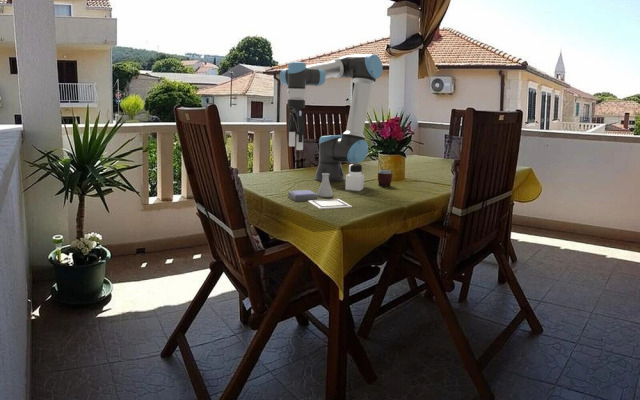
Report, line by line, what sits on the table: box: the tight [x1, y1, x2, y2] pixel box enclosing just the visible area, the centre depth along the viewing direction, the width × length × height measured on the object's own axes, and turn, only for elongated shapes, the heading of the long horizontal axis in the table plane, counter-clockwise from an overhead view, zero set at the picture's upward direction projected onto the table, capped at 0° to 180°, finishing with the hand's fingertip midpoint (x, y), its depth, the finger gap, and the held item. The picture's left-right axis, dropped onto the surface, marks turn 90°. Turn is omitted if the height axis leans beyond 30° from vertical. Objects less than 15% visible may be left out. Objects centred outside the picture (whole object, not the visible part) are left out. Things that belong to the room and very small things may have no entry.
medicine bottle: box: [344, 163, 365, 192], centre depth 232 cm, size 7×7×12 cm
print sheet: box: [307, 198, 353, 210], centre depth 200 cm, size 14×14×1 cm
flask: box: [316, 173, 334, 198], centre depth 215 cm, size 7×7×10 cm
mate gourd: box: [376, 156, 393, 188], centre depth 242 cm, size 8×8×15 cm
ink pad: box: [287, 189, 319, 202], centre depth 211 cm, size 10×10×2 cm
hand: (295, 148), depth 216 cm, fingers open, 13 cm apart
